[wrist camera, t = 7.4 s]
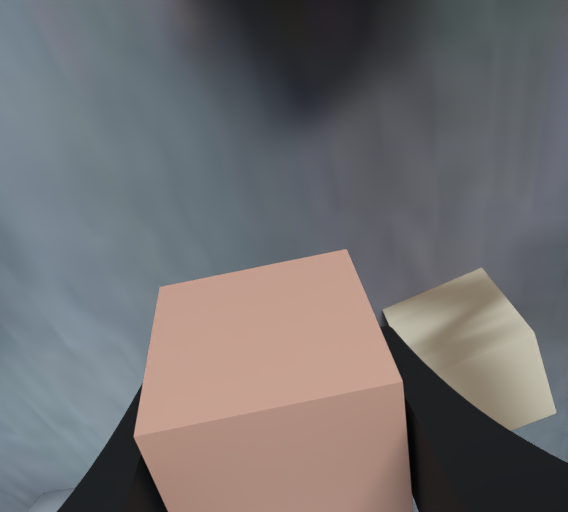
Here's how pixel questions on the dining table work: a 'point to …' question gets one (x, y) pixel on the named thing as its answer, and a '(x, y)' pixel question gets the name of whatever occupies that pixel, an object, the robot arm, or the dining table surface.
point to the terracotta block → (274, 394)
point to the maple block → (477, 347)
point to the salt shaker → (51, 501)
